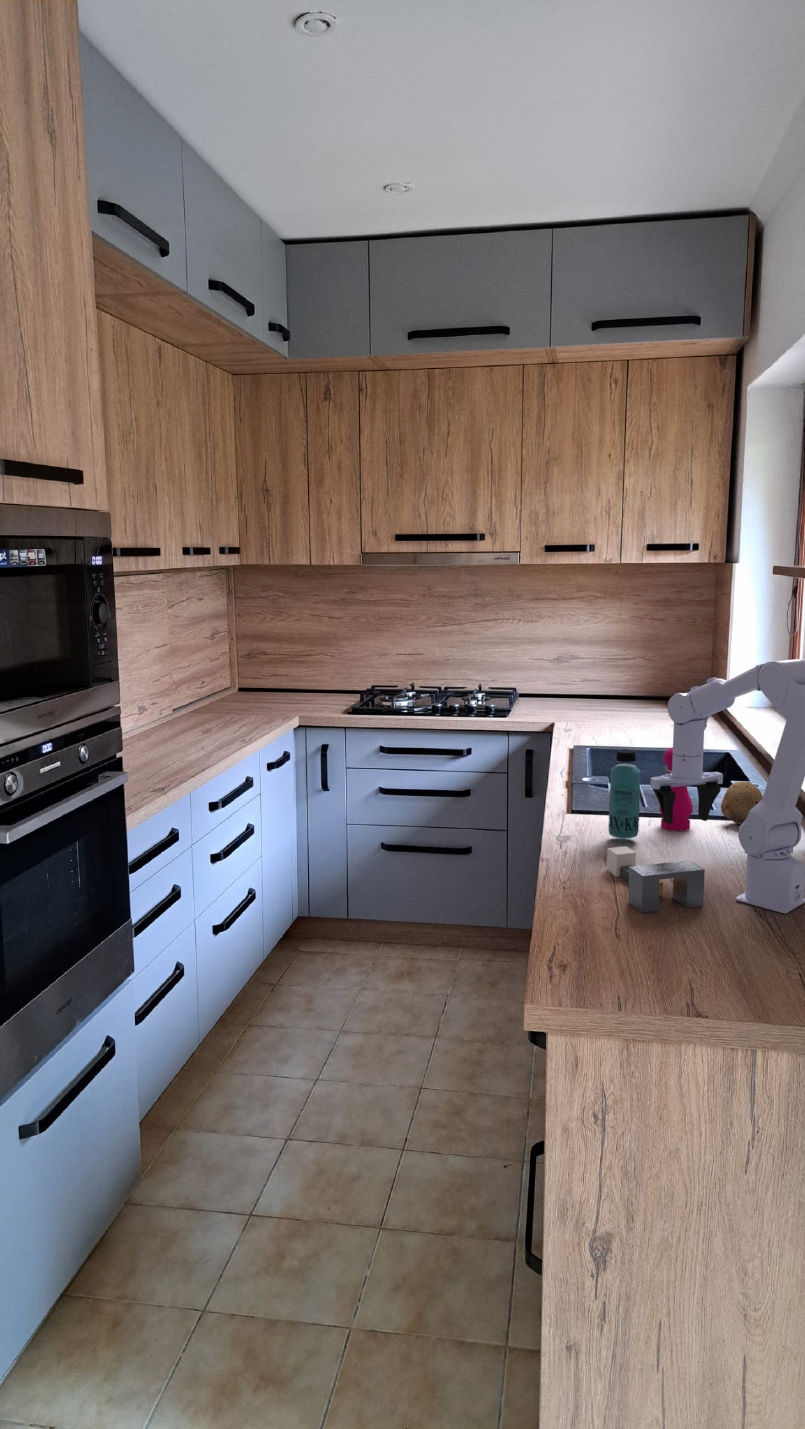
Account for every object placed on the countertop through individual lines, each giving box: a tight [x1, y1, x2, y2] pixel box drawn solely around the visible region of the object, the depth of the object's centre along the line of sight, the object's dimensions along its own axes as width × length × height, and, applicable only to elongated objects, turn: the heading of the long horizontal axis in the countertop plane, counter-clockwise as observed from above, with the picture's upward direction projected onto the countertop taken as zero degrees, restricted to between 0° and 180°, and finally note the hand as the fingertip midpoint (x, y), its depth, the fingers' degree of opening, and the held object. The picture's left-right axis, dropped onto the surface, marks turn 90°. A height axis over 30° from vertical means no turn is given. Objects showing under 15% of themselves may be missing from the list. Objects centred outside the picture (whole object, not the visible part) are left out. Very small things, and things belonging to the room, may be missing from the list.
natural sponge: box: [720, 780, 763, 825], centre depth 221 cm, size 9×9×10 cm
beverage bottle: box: [607, 748, 641, 839], centre depth 210 cm, size 6×7×20 cm
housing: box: [628, 859, 706, 914], centre depth 175 cm, size 5×12×7 cm, turn 104°
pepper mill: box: [659, 746, 694, 832], centre depth 219 cm, size 7×7×20 cm
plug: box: [606, 845, 664, 897], centre depth 187 cm, size 16×4×4 cm, turn 14°
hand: (685, 821), depth 193 cm, fingers open, 7 cm apart
